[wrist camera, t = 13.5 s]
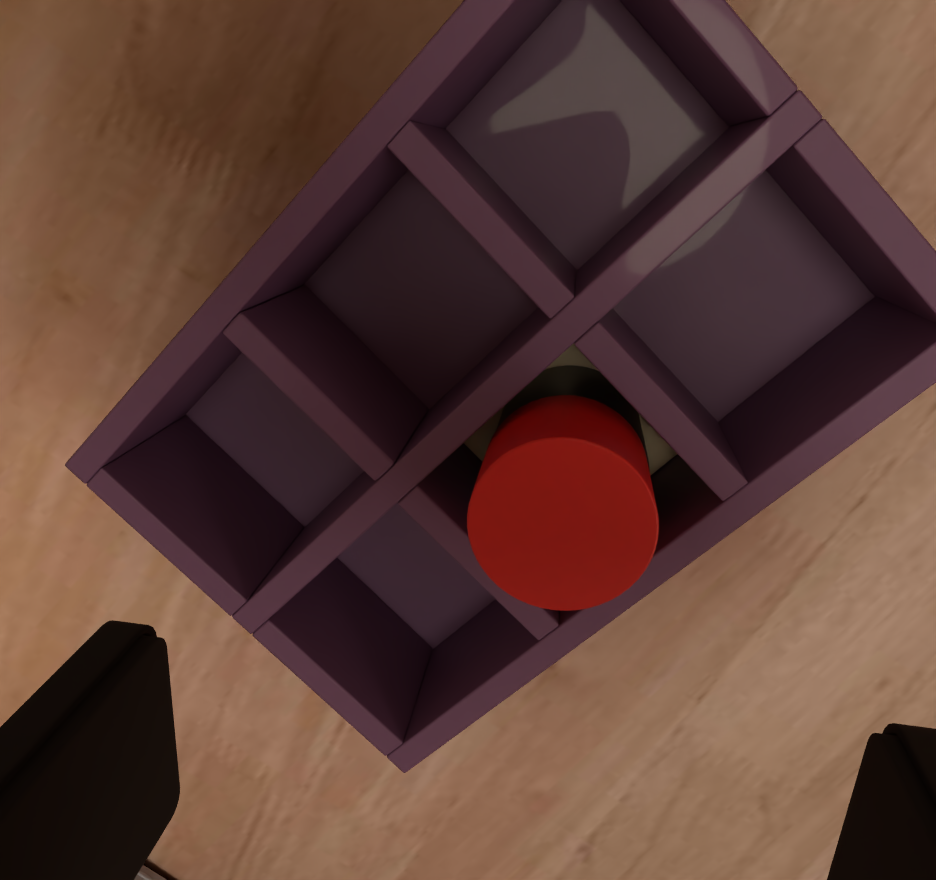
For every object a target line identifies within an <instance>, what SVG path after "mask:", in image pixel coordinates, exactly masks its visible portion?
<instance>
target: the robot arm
mask: <svg viewBox="0 0 936 880" xmlns="http://www.w3.org/2000/svg"><path fill="white" fill-rule="evenodd" d="M179 794H180V782H179V772H178V761H177V750H176V739H175V729H174V718H173V707H172V696H171V686H170V675H169V664H168V653H167V645H166V642H165V640H164V639H163V638H159V637H157V635H156V632H155V630H154V628H153V627H151V626H149V625H143V624H136V623H128V622H120V621H108V622H106V623H105V624H104V625H102V626H101V627H100V628H99V629H98V630H97V631H96V632H95V633H94V634H93V635H92V636H91V637H90V638H89V639H88V640H87V641H86V642H85V643H84V644H83V645H82V646H81V647H80V648H79V649H78V650H77V651H76V652H75V653H74V654H73V655H72V656H71V657H70V658H69V659H68V660H67V661H66V662H65V663H64V664H63V665H62V666H61V667H60V668H59V669H58V670H57V671H56V672H55V673H54V674H53V675H52V676H51V677H50V678H49V679H48V680H47V681H46V682H45V683H44V684H43V685H42V686H41V687H40V688H39V689H38V690H37V691H36V692H35V693H34V694H33V695H32V696H31V697H30V698H29V699H28V700H27V701H26V702H25V703H24V704H23V705H22V706H21V707H20V708H19V709H18V710H17V711H16V712H15V713H14V714H13V715H12V716H11V717H10V718H9V719H8V720H7V721H6V722H5V723H4V724H3V725H2V726H1V727H0V880H134V879H135V877H136V876H137V874H138V872H139V871H140V869H141V867H142V866H143V864H144V863H145V861H146V859H147V858H148V856H149V854H150V853H151V851H152V849H153V848H154V846H155V845H156V843H157V841H158V840H159V838H160V836H161V835H162V833H163V832H164V830H165V828H166V827H167V825H168V823H169V822H170V820H171V818H172V816H173V815H174V813H175V810H176V807H177V804H178V800H179ZM827 880H936V729H933V728H925V727H918V726H910V725H902V724H895V723H892V724H888V725H887V726H886V728H885V729H884V731H883V733H882V734H880V733H873V734H872V735H871V736H870V737H869V739H868V742H867V745H866V749H865V752H864V755H863V759H862V762H861V766H860V769H859V772H858V776H857V779H856V783H855V786H854V789H853V793H852V796H851V800H850V803H849V806H848V810H847V813H846V817H845V820H844V823H843V827H842V830H841V834H840V837H839V841H838V844H837V847H836V851H835V854H834V858H833V861H832V864H831V868H830V871H829V875H828V878H827Z"/></svg>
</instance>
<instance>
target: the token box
mask: <svg viewBox="0 0 936 880" xmlns="http://www.w3.org/2000/svg"><path fill="white" fill-rule="evenodd" d="M797 89H798V88H797V85H796V84H795V83H794V82H793V81H792V79H791V78H790V77H789V76H788V75H787V73H786V72H785V71H784V70H783V69H782V68H781V66H780V65H779V64H778V63H777V62H776V60H775V59H774V58H773V57H772V56H771V54H770V53H769V52H768V51H767V50H766V48H765V47H764V46H763V45H762V44H761V42H760V41H759V40H758V39H757V38H756V36H755V35H754V34H753V33H752V32H751V31H750V29H749V28H748V27H747V26H746V25H745V23H744V22H743V21H742V20H741V19H740V17H739V16H738V15H737V14H736V13H735V11H734V10H733V9H732V8H731V7H730V5H729V4H728V3H727V2H726V1H725V0H464V1H463V2H462V3H461V5H460V6H459V7H458V8H457V9H456V10H455V12H454V13H453V14H452V15H451V16H450V17H449V19H448V20H447V21H446V22H445V23H444V24H443V26H442V27H441V28H440V29H439V30H438V31H437V32H436V34H435V35H434V36H433V37H432V38H431V39H430V41H429V42H428V43H427V44H426V45H425V46H424V48H423V49H422V50H421V51H420V52H419V53H418V55H417V56H416V57H415V58H414V59H413V60H412V62H411V63H410V64H409V65H408V66H407V67H406V68H405V70H404V71H403V72H402V73H401V74H400V75H399V77H398V78H397V79H396V80H395V81H394V82H393V84H392V85H391V86H390V87H389V88H388V89H387V91H386V92H385V93H384V94H383V95H382V96H381V98H380V99H379V100H378V101H377V102H376V103H375V105H374V106H373V107H372V108H371V109H370V110H369V111H368V113H367V114H366V115H365V116H364V117H363V118H362V120H361V121H360V122H359V123H358V124H357V125H356V127H355V128H354V129H353V130H352V131H351V132H350V134H349V135H348V136H347V137H346V138H345V139H344V141H343V142H342V143H341V144H340V145H339V146H338V148H337V149H336V150H335V151H334V152H333V153H332V154H331V156H330V157H329V158H328V159H327V160H326V161H325V163H324V164H323V165H322V166H321V167H320V168H319V170H318V171H317V172H316V173H315V174H314V175H313V177H312V178H311V179H310V180H309V181H308V182H307V184H306V185H305V186H304V187H303V188H302V189H301V191H300V192H299V193H298V194H297V195H296V196H295V197H294V199H293V200H292V201H291V202H290V203H289V204H288V206H287V207H286V208H285V209H284V210H283V211H282V213H281V214H280V215H279V216H278V217H277V218H276V220H275V221H274V222H273V223H272V224H271V225H270V227H269V228H268V229H267V230H266V231H265V232H264V234H263V235H262V236H261V237H260V238H259V239H258V240H257V242H256V243H255V244H254V245H253V246H252V247H251V249H250V250H249V251H248V252H247V253H246V254H245V256H244V257H243V258H242V259H241V260H240V261H239V263H238V264H237V265H236V266H235V267H234V268H233V270H232V271H231V272H230V273H229V274H228V275H227V277H226V278H225V279H224V280H223V281H222V282H221V283H220V285H219V286H218V287H217V288H216V289H215V290H214V292H213V293H212V294H211V295H210V296H209V297H208V299H207V300H206V301H205V302H204V303H203V304H202V306H201V307H200V308H199V309H198V310H197V311H196V313H195V314H194V315H193V316H192V317H191V318H190V320H189V321H188V322H187V323H186V324H185V325H184V326H183V328H182V329H181V330H180V331H179V332H178V333H177V335H176V336H175V337H174V338H173V339H172V340H171V342H170V343H169V344H168V345H167V346H166V347H165V349H164V350H163V351H162V352H161V353H160V354H159V356H158V357H157V358H156V359H155V360H154V361H153V362H152V364H151V365H150V366H149V367H148V368H147V369H146V371H145V372H144V373H143V374H142V375H141V376H140V378H139V379H138V380H137V381H136V382H135V383H134V385H133V386H132V387H131V388H130V389H129V390H128V392H127V393H126V394H125V395H124V396H123V397H122V399H121V400H120V401H119V402H118V403H117V404H116V405H115V407H114V408H113V409H112V410H111V411H110V412H109V414H108V415H107V416H106V417H105V418H104V419H103V421H102V422H101V423H100V424H99V425H98V426H97V428H96V429H95V430H94V431H93V432H92V433H91V435H90V436H89V437H88V438H87V439H86V440H85V442H84V443H83V444H82V445H81V446H80V447H79V448H78V450H77V451H76V452H75V453H74V454H73V455H72V457H71V458H70V459H69V460H68V461H67V462H66V464H65V466H66V467H67V468H68V469H69V470H70V471H71V472H72V473H73V474H75V475H76V476H77V477H78V478H79V479H80V480H81V481H82V482H83V483H85V484H86V483H87V487H89V488H90V489H91V490H92V491H93V492H94V493H95V494H96V495H97V496H99V497H100V498H101V499H102V500H103V501H104V502H105V503H106V504H107V505H108V506H110V507H111V508H112V509H113V510H114V511H115V512H116V513H117V514H118V515H119V516H121V517H122V518H123V519H124V520H125V521H126V522H127V523H128V524H129V525H131V526H132V527H133V528H134V529H135V530H136V531H137V532H138V533H139V534H140V535H142V536H143V537H144V538H145V539H146V540H147V541H148V542H149V543H150V544H152V545H153V546H154V547H155V548H156V549H157V550H158V551H159V552H160V553H161V554H163V555H164V556H165V557H166V558H167V559H168V560H169V561H170V562H171V563H173V564H174V565H175V566H176V567H177V568H178V569H179V570H180V571H181V572H182V573H184V574H185V575H186V576H187V577H188V578H189V579H190V580H191V581H192V582H193V583H195V584H196V585H197V586H198V587H199V588H200V589H201V590H202V591H203V592H205V593H206V594H207V595H208V596H209V597H210V598H211V599H212V600H213V601H214V602H216V603H217V604H218V605H219V606H220V607H221V608H222V609H223V610H224V611H226V612H227V613H228V614H229V615H230V616H231V615H233V616H232V617H233V618H234V619H235V620H236V621H237V622H238V623H239V624H240V625H241V626H242V627H243V628H245V629H246V630H247V631H248V632H249V633H250V634H252V633H253V637H255V638H256V639H257V640H258V641H259V642H260V643H261V644H262V645H263V646H264V647H266V648H267V649H268V650H269V651H270V652H271V653H272V654H273V655H274V656H275V657H277V658H278V659H279V660H280V661H281V662H282V663H283V664H284V665H285V666H287V667H288V668H289V669H290V670H291V671H292V672H293V673H294V674H295V675H296V676H298V677H299V678H300V679H301V680H302V681H303V682H304V683H305V684H306V685H308V686H309V687H310V688H311V689H312V690H313V691H314V692H315V693H316V694H317V695H319V696H320V697H321V698H322V699H323V700H324V701H325V702H326V703H327V704H328V705H330V706H331V707H332V708H333V709H334V710H335V711H336V712H337V713H338V714H340V715H341V716H342V717H343V718H344V719H345V720H346V721H347V722H348V723H349V724H351V725H352V726H353V727H354V728H355V729H356V730H357V731H358V732H359V733H361V734H362V735H363V736H364V737H365V738H366V739H367V740H368V741H369V742H370V743H372V744H373V745H374V746H375V747H376V748H377V749H378V750H379V751H380V752H382V753H383V754H384V755H385V756H387V758H388V759H389V760H390V761H391V762H393V763H394V764H395V765H396V766H397V767H398V768H399V769H400V770H401V771H402V772H404V773H406V772H407V771H408V770H410V769H411V768H413V767H414V766H415V765H417V764H418V763H419V762H421V761H422V760H423V759H425V758H426V757H427V756H429V755H430V754H432V753H433V752H434V751H436V750H437V749H438V748H440V747H441V746H442V745H444V744H445V743H446V742H448V741H449V740H451V739H452V738H453V737H455V736H456V735H457V734H459V733H460V732H461V731H463V730H464V729H465V728H467V727H468V726H470V725H471V724H472V723H474V722H475V721H476V720H478V719H479V718H480V717H482V716H483V715H485V714H486V713H487V712H489V711H490V710H491V709H493V708H494V707H495V706H497V705H498V704H499V703H501V702H502V701H504V700H505V699H506V698H508V697H509V696H510V695H512V694H513V693H514V692H516V691H517V690H518V689H520V688H521V687H523V686H524V685H525V684H527V683H528V682H529V681H531V680H532V679H533V678H535V677H536V676H538V675H539V674H540V673H542V672H543V671H544V670H546V669H547V668H548V667H550V666H551V665H552V664H554V663H555V662H557V661H558V660H559V659H561V658H562V657H563V656H565V655H566V654H567V653H569V652H570V651H571V650H573V649H574V648H576V647H577V646H578V645H580V644H581V643H582V642H584V641H585V640H586V639H588V638H589V637H590V636H592V635H593V634H595V633H596V632H597V631H599V630H600V629H601V628H603V627H604V626H605V625H607V624H608V623H610V622H611V621H612V620H614V619H615V618H616V617H618V616H619V615H620V614H622V613H623V612H624V611H626V610H627V609H629V608H630V607H631V606H633V605H634V604H635V603H637V602H638V601H639V600H641V599H642V598H643V597H645V596H646V595H648V594H649V593H650V592H652V591H653V590H654V589H656V588H657V587H658V586H660V585H661V584H662V583H664V582H665V581H667V580H668V579H669V578H671V577H672V576H673V575H675V574H676V573H677V572H679V571H680V570H682V569H683V568H684V567H686V566H687V565H688V564H690V563H691V562H692V561H694V560H695V559H696V558H698V557H699V556H701V555H702V554H703V553H705V552H706V551H707V550H709V549H710V548H711V547H713V546H714V545H715V544H717V543H718V542H720V541H721V540H722V539H724V538H725V537H726V536H728V535H729V534H730V533H732V532H733V531H735V530H736V529H737V528H739V527H740V526H741V525H743V524H744V523H745V522H747V521H748V520H749V519H751V518H752V517H754V516H755V515H756V514H758V513H759V512H760V511H762V510H763V509H764V508H766V507H767V506H768V505H770V504H771V503H773V502H774V501H775V500H777V499H778V498H779V497H781V496H782V495H783V494H785V493H786V492H787V491H789V490H790V489H792V488H793V487H794V486H796V485H797V484H798V483H800V482H801V481H802V480H804V479H805V478H807V477H808V476H809V475H811V474H812V473H813V472H815V471H816V470H817V469H819V468H820V467H821V466H823V465H824V464H826V463H827V462H828V461H830V460H831V459H832V458H834V457H835V456H836V455H838V454H839V453H840V452H842V451H843V450H845V449H846V448H847V447H849V446H850V445H851V444H853V443H854V442H855V441H857V440H858V439H859V438H861V437H862V436H864V435H865V434H866V433H868V432H869V431H870V430H872V429H873V428H874V427H876V426H877V425H879V424H880V423H881V422H883V421H884V420H885V419H887V418H888V417H889V416H891V415H892V414H893V413H895V412H896V411H898V410H899V409H900V408H902V407H903V406H904V405H906V404H907V403H908V402H910V401H911V400H912V399H914V398H915V397H917V396H918V395H919V394H921V393H922V392H923V391H925V390H926V389H927V388H929V387H930V386H931V385H933V384H934V383H936V251H935V250H934V249H933V247H932V246H931V245H930V244H929V243H928V241H927V240H926V239H925V238H924V237H923V235H922V234H921V233H920V232H919V231H918V229H917V228H916V227H915V226H914V225H913V223H912V222H911V221H910V220H909V219H908V218H907V216H906V215H905V214H904V213H903V212H902V210H901V209H900V208H899V207H898V206H897V204H896V203H895V202H894V201H893V200H892V198H891V197H890V196H889V195H888V194H887V192H886V191H885V190H884V189H883V188H882V187H881V185H880V184H879V183H878V182H877V181H876V179H875V178H874V177H873V176H872V175H871V173H870V172H869V171H868V170H867V169H866V167H865V166H864V165H863V164H862V163H861V161H860V160H859V159H858V158H857V157H856V155H855V154H854V153H853V152H852V151H851V150H850V148H849V147H848V146H847V145H846V144H845V142H844V141H843V140H842V139H841V138H840V136H839V135H838V134H837V133H836V132H835V130H834V129H833V128H832V127H831V126H830V124H829V123H828V122H827V121H826V120H825V119H822V115H821V114H820V113H819V112H818V110H817V109H816V108H815V107H814V106H813V104H812V103H811V102H810V101H809V100H808V98H807V97H806V96H805V95H804V94H803V92H802V91H800V90H798V91H797ZM565 365H574V366H583V367H588V368H591V369H595V370H597V371H600V373H601V374H602V375H603V376H604V377H605V378H606V379H607V380H608V381H609V382H610V383H611V384H612V385H613V386H614V387H615V388H616V389H617V391H618V392H619V393H620V394H621V395H622V396H623V397H624V398H625V399H626V400H627V401H628V402H629V403H630V404H631V405H632V406H633V407H634V408H635V410H636V411H637V412H638V414H639V417H640V422H641V426H642V431H643V436H644V441H645V445H646V450H647V455H648V460H649V468H650V477H651V481H652V486H653V491H654V496H655V501H656V506H657V510H658V516H659V535H658V541H657V545H656V549H655V552H654V554H653V557H652V560H651V561H650V563H649V565H648V567H647V568H646V570H645V571H644V573H643V574H642V575H641V577H640V578H639V579H638V580H637V581H636V582H635V583H634V584H633V585H632V586H631V587H630V588H629V589H627V590H626V591H625V592H623V593H622V594H621V595H619V596H617V597H616V598H614V599H612V600H610V601H608V602H606V603H603V604H601V605H598V606H594V607H591V608H587V609H581V610H571V611H560V610H550V609H544V608H539V607H536V606H533V605H530V604H527V603H525V602H523V601H520V600H518V599H516V598H514V597H513V596H511V595H509V594H508V593H506V592H505V591H504V590H502V589H501V588H500V587H498V586H497V585H496V584H495V583H494V582H493V581H492V580H491V579H490V578H489V577H488V575H487V574H486V573H485V572H484V570H483V569H482V568H481V566H480V564H479V563H478V561H477V559H476V557H475V555H474V553H473V550H472V548H471V545H470V541H469V537H468V530H467V512H468V505H469V501H470V498H471V494H472V491H473V488H474V486H475V483H476V480H477V477H478V474H479V471H480V468H481V465H482V462H483V460H484V457H485V454H486V451H487V448H488V445H489V443H490V441H491V439H492V436H493V435H494V433H495V432H496V429H497V426H498V423H499V420H500V417H501V414H502V411H503V409H504V407H505V405H506V404H507V403H508V402H509V401H510V400H511V399H513V398H514V397H515V396H516V395H517V394H518V393H519V392H520V391H521V390H523V389H524V388H525V387H526V386H527V385H528V384H529V383H530V382H531V381H532V380H534V379H535V378H536V377H537V376H538V375H539V374H540V373H541V372H542V371H544V370H545V369H548V368H552V367H557V366H565Z"/></svg>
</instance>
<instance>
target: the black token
mask: <svg viewBox="0 0 936 880" xmlns="http://www.w3.org/2000/svg"><path fill="white" fill-rule="evenodd" d="M557 395H574V396H581V397H586V398H589V399H593V400H596V401H598V402H600V403H603V404H605V405H607V406H608V407H610V408H612V409H613V410H615V411H616V412H617V413H619V414H620V415H621V416H622V417H624V418H625V419H626V421H627V422H628V423H629V424H630V425H631V426H632V427H633V429H634V430H635V431H636V433H637V434H638V436H639V438H640V440H641V442H642V444H643V447H644V450H645V453H646V457H647V462H648V467H649V460H648V455H647V450H646V445H645V441H644V436H643V431H642V426H641V422H640V417H639V414H638V412H637V411H636V410H635V408H634V407H633V406H632V405H631V404H630V403H629V402H628V401H627V400H626V399H625V398H624V397H623V396H622V395H621V394H620V393H619V392H618V391H617V389H616V388H615V387H614V386H613V385H612V384H611V383H610V382H609V381H608V380H607V379H606V378H605V377H604V376H603V375H602V374H601V373H600V371H597V370H595V369H591V368H588V367H583V366H574V365H565V366H557V367H552V368H548V369H545V370H544V371H542V372H541V373H540V374H539V375H538V376H537V377H536V378H535V379H534V380H532V381H531V382H530V383H529V384H528V385H527V386H526V387H525V388H524V389H523V390H521V391H520V392H519V393H518V394H517V395H516V396H515V397H514V398H513V399H511V400H510V401H509V402H508V403H507V404H506V405H505V407H504V409H503V411H502V414H501V417H500V420H499V423H498V426H497V428H498V427H499V426H500V425H501V423H502V422H503V421H504V420H505V419H506V418H507V417H508V416H509V415H510V414H512V413H513V412H514V411H516V410H517V409H519V408H520V407H522V406H524V405H526V404H528V403H530V402H532V401H535V400H538V399H540V398H545V397H549V396H557ZM496 430H497V429H496ZM649 472H650V468H649Z"/></svg>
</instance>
